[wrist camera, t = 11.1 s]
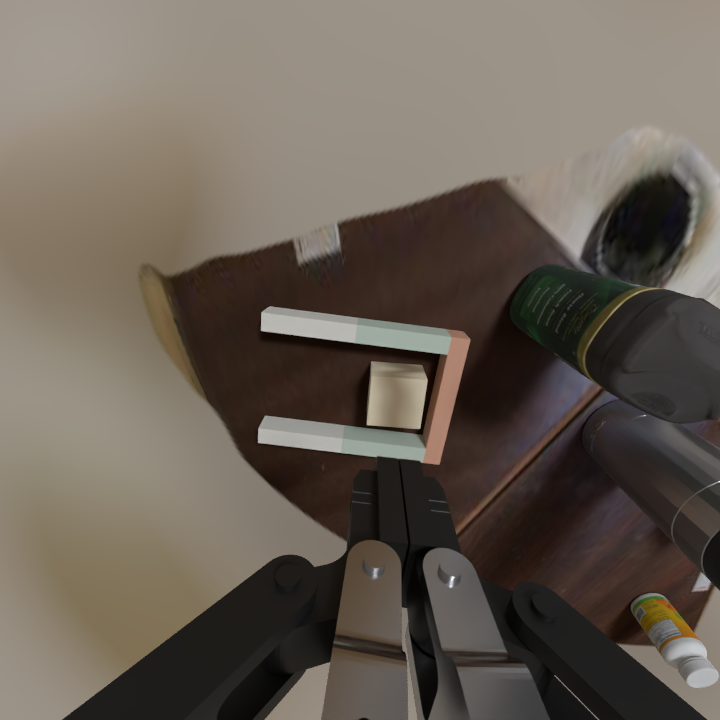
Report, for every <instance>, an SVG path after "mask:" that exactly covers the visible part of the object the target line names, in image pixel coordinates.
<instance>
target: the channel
mask: <svg viewBox="0 0 720 720" xmlns="http://www.w3.org/2000/svg"><path fill="white" fill-rule="evenodd" d="M261 331H265V332H273V333H281V334H289V335H296V336H304V337H312V338H320V339H328V340H335V341H343V342H351V343H359V344H367V345H375V346H382V347H390V348H398V349H406V350H414V351H422V352H429V353H437V354H440V358H439V363H438V367H437V372H436V376H435V381H434V385H433V390H432V395H431V399H430V404H429V408H428V413H427V417H426V422H425V426H424V431H423V435H419V434H411V433H403V432H395V431H386V430H378V429H370V428H362V427H354V426H345V425H337V424H329V423H321V422H313V421H305V420H296V419H288V418H280V417H272V416H265V417H264V419H263V421H262V423H261V424H260V426H259V428H258V443H264V444H272V445H280V446H288V447H297V448H305V449H313V450H322V451H330V452H338V453H347V454H355V455H363V456H371V457H377V456H382V457H391V458H398V459H399V458H400V459H409V460H418V461H420V462H421V463H430V464H438V465H439V464H440V460H441V456H442V452H443V448H444V444H445V440H446V436H447V432H448V428H449V424H450V420H451V416H452V412H453V408H454V404H455V400H456V396H457V392H458V388H459V384H460V380H461V376H462V372H463V368H464V364H465V360H466V356H467V352H468V348H469V344H470V340H471V339H470V338H469V337H468V336H467V335H466V334H465V333H464V332H463V331H455V330H448V329H440V328H432V327H424V326H417V325H409V324H401V323H394V322H386V321H378V320H370V319H363V318H355V317H347V316H340V315H332V314H324V313H316V312H309V311H301V310H293V309H285V308H278V307H270V306H269V307H268V308H266V309H265V310H264V311H263V312H262V313H261Z"/></svg>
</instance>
